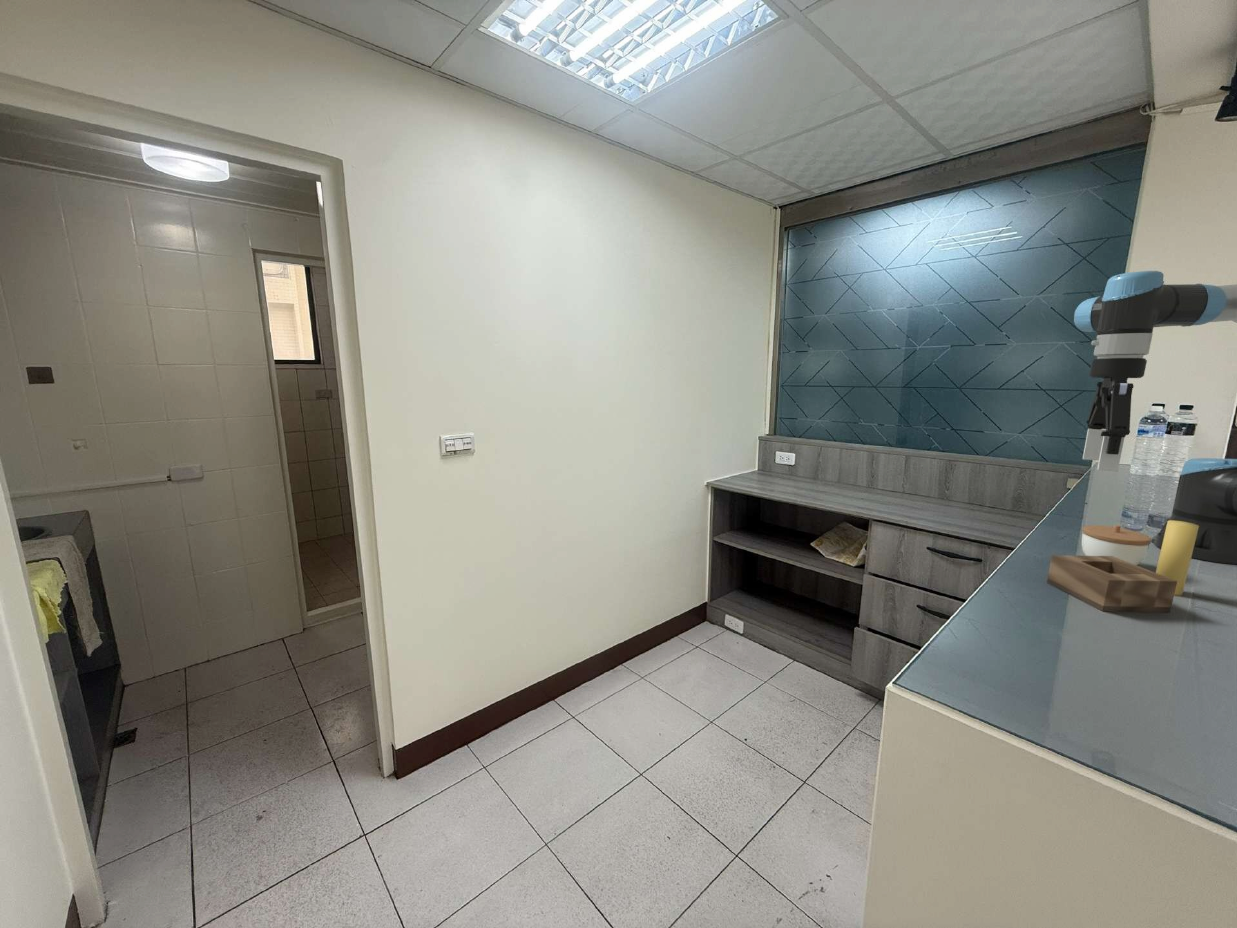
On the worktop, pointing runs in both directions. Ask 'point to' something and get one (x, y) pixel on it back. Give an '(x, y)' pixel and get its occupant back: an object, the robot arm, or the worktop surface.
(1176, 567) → the dowel
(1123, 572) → the socket block
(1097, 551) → the lidded jar
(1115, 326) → the robot arm
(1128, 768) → the worktop surface
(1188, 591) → the worktop surface
